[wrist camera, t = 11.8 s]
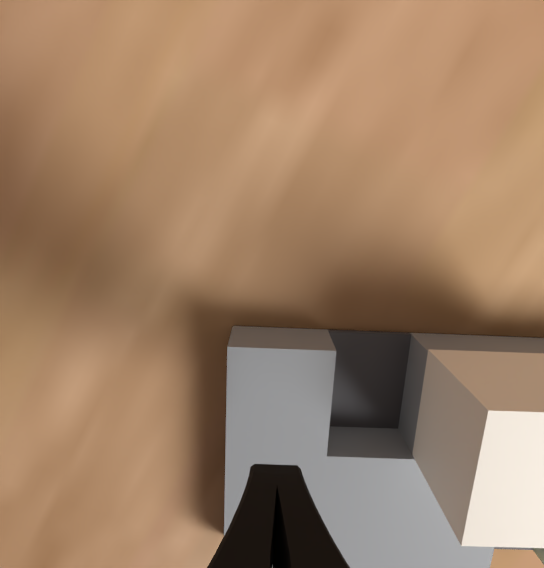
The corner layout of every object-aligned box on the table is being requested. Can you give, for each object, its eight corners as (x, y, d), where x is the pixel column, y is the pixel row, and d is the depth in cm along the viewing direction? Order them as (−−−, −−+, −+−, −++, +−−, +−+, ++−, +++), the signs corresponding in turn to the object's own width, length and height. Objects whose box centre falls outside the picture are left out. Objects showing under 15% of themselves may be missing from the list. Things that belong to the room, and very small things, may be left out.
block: (412, 454, 15) (461, 546, 11) (428, 349, 14) (488, 410, 10) (524, 458, 15) (611, 550, 11) (549, 353, 14) (653, 415, 10)
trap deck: (228, 537, 19) (218, 619, 15) (232, 325, 16) (222, 365, 13) (628, 548, 19) (711, 631, 16) (698, 343, 17) (816, 387, 13)
